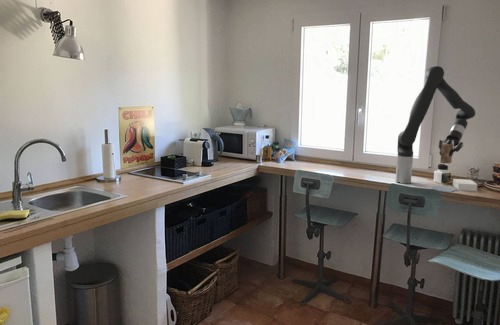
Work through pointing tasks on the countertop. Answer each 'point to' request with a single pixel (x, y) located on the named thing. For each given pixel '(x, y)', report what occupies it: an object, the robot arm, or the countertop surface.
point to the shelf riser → (464, 185)
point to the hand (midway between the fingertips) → (445, 155)
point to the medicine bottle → (442, 174)
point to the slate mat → (444, 189)
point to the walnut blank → (446, 153)
